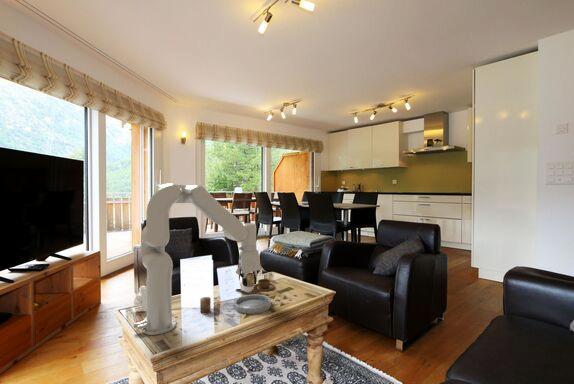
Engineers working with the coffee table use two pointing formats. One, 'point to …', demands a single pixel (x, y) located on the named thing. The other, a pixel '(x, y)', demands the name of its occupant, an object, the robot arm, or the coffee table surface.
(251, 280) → the oak bead
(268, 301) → the dish
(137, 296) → the koala figurine
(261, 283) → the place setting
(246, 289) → the mug
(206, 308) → the walnut bead
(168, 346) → the coffee table surface
